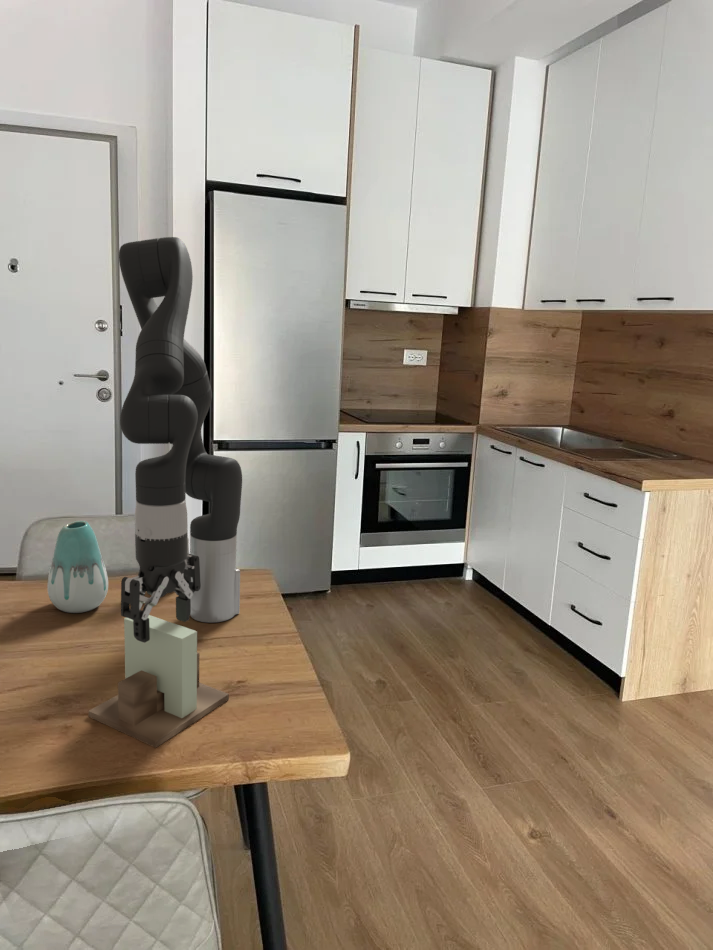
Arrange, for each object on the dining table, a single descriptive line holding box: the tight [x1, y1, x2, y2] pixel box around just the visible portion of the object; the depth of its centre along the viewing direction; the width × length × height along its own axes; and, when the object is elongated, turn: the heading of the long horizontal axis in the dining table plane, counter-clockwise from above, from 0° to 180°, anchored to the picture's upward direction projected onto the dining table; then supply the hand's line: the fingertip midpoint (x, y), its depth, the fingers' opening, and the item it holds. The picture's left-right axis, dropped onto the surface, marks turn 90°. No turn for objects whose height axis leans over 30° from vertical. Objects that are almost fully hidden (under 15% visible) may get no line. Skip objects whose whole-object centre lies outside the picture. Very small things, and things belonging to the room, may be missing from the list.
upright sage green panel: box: [123, 614, 198, 718], centre depth 111 cm, size 3×12×13 cm, turn 60°
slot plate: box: [88, 651, 230, 749], centre depth 112 cm, size 16×14×7 cm
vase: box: [46, 520, 109, 614], centre depth 146 cm, size 12×12×18 cm
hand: (163, 630), depth 109 cm, fingers open, 8 cm apart
